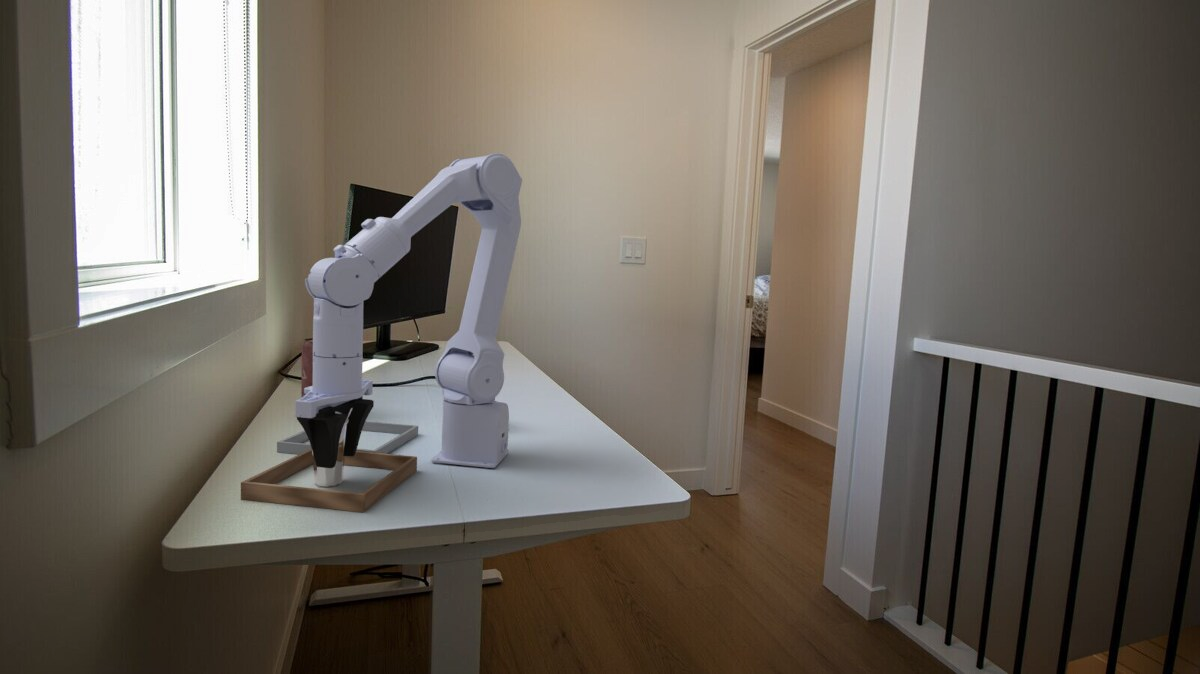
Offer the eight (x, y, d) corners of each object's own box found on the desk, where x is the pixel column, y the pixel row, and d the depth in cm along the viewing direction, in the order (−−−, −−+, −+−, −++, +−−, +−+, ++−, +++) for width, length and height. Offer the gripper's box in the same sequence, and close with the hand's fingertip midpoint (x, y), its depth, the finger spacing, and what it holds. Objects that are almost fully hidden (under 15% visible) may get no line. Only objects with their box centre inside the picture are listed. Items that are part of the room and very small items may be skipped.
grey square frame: (418, 434, 102) (418, 425, 102) (375, 461, 88) (375, 451, 87) (332, 426, 104) (333, 418, 104) (276, 452, 89) (276, 442, 89)
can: (313, 422, 106) (314, 342, 104) (294, 415, 109) (295, 338, 108) (346, 417, 110) (347, 340, 109) (327, 410, 114) (328, 336, 113)
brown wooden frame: (416, 470, 85) (417, 456, 85) (363, 512, 70) (363, 495, 70) (314, 460, 86) (314, 446, 86) (240, 499, 72) (240, 482, 71)
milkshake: (341, 491, 76) (341, 412, 74) (301, 486, 76) (301, 408, 75) (360, 478, 80) (361, 403, 79) (322, 474, 81) (322, 400, 80)
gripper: (338, 345, 84) (337, 442, 85) (270, 360, 70) (270, 476, 71) (387, 349, 83) (385, 447, 85) (329, 365, 69) (327, 482, 70)
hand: (336, 460), depth 78 cm, fingers closed on milkshake, 4 cm apart
